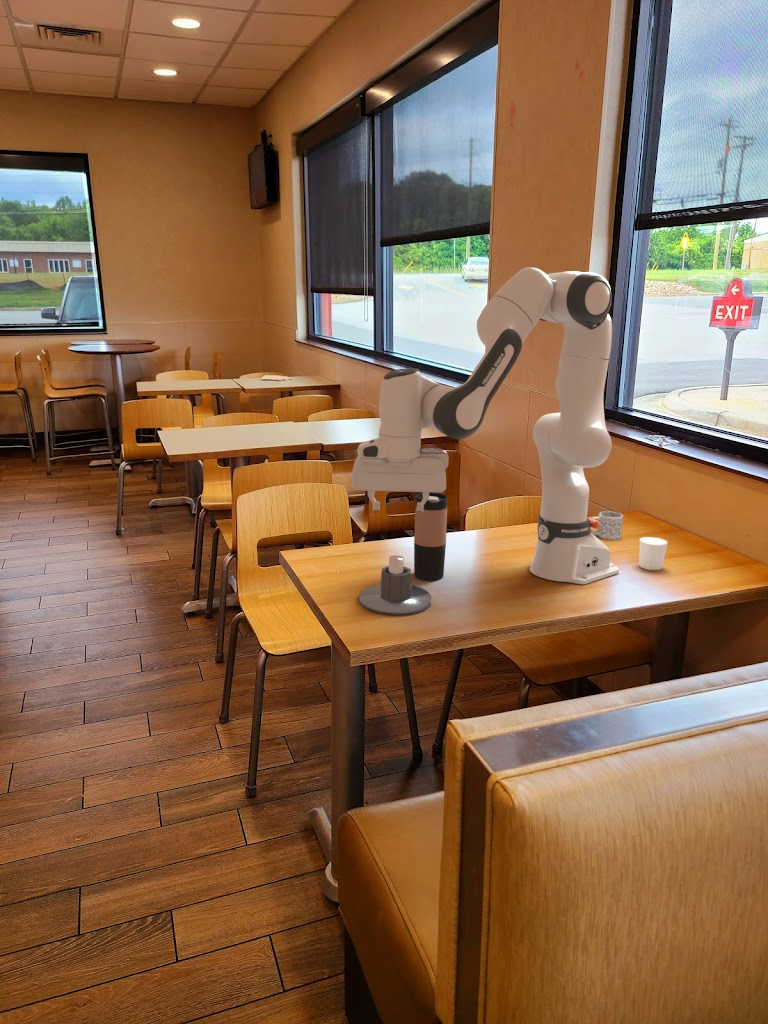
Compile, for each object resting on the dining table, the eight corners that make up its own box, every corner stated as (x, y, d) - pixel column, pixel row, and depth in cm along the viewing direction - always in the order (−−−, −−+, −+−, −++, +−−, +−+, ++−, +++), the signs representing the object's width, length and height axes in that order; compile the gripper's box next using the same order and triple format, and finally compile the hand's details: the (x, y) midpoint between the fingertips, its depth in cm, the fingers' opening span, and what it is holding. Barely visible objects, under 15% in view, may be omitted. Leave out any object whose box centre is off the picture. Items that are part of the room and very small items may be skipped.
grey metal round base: (409, 584, 179) (410, 542, 176) (444, 608, 165) (446, 564, 162) (347, 594, 172) (348, 551, 169) (379, 620, 158) (380, 574, 155)
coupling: (382, 590, 171) (382, 565, 170) (410, 591, 171) (411, 566, 169) (380, 600, 165) (380, 575, 163) (409, 602, 165) (410, 576, 163)
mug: (615, 533, 222) (618, 511, 221) (624, 540, 216) (626, 517, 214) (582, 533, 222) (584, 511, 220) (590, 540, 215) (592, 517, 214)
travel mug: (425, 568, 189) (428, 490, 184) (450, 575, 185) (454, 496, 179) (406, 576, 184) (409, 496, 178) (432, 583, 179) (435, 502, 174)
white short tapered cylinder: (655, 572, 190) (658, 546, 188) (631, 565, 195) (634, 539, 193) (669, 567, 194) (673, 541, 192) (646, 560, 199) (649, 534, 197)
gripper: (448, 445, 161) (446, 508, 165) (353, 443, 162) (353, 505, 166) (449, 451, 155) (447, 516, 159) (350, 449, 156) (350, 513, 160)
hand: (398, 510), depth 163 cm, fingers open, 8 cm apart
